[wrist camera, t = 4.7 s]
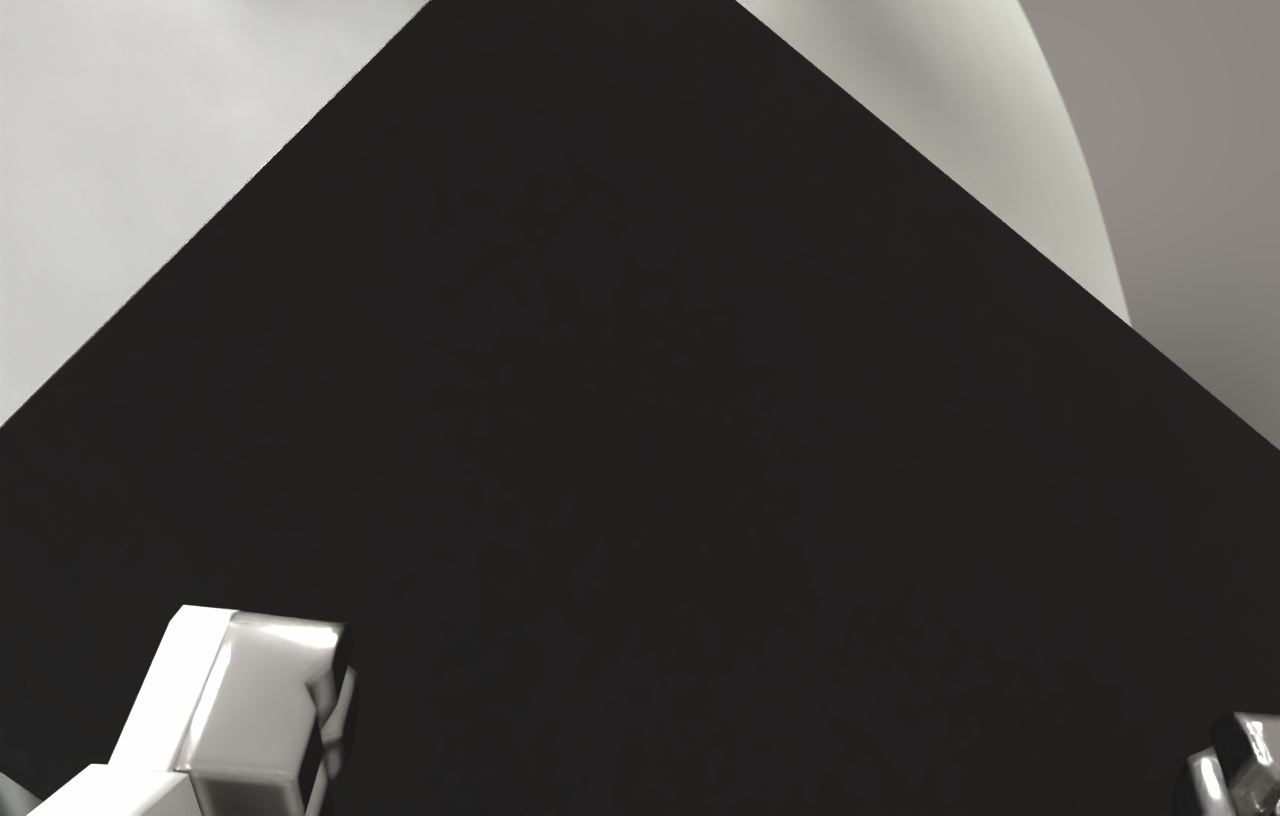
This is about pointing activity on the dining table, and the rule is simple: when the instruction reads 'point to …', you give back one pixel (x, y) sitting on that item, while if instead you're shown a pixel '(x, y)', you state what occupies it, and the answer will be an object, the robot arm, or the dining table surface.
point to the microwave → (644, 456)
